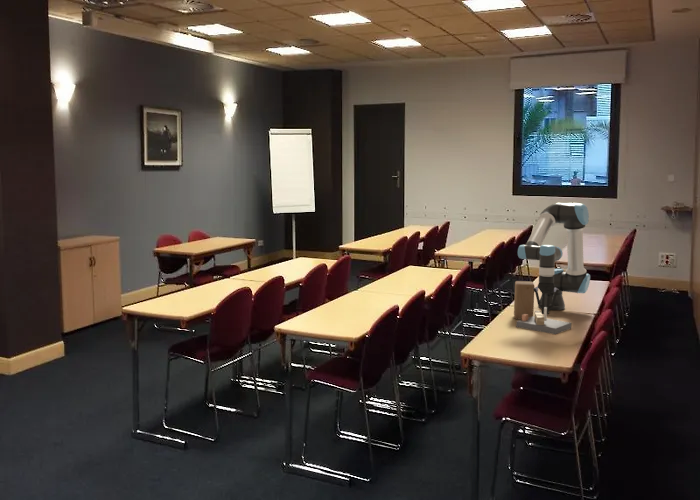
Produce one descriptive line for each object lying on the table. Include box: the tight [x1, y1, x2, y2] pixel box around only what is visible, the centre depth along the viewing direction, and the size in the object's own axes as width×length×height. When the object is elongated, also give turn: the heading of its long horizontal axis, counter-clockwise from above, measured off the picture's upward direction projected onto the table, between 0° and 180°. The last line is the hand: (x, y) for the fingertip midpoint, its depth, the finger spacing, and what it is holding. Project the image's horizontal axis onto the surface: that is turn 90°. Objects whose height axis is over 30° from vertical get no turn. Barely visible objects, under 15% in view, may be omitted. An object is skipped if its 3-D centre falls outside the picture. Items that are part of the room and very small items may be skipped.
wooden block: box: [513, 280, 535, 320], centre depth 366 cm, size 10×10×20 cm
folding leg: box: [534, 310, 544, 325], centre depth 346 cm, size 17×4×4 cm, turn 170°
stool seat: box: [515, 314, 572, 335], centre depth 345 cm, size 17×22×6 cm
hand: (545, 320), depth 341 cm, fingers closed
